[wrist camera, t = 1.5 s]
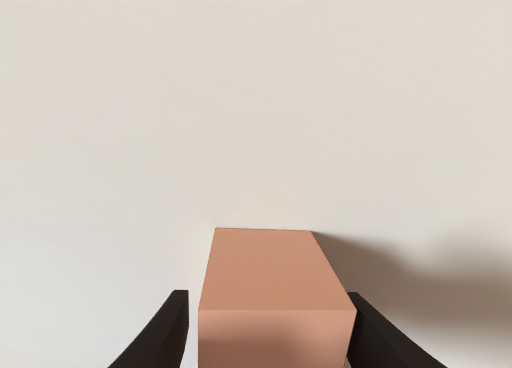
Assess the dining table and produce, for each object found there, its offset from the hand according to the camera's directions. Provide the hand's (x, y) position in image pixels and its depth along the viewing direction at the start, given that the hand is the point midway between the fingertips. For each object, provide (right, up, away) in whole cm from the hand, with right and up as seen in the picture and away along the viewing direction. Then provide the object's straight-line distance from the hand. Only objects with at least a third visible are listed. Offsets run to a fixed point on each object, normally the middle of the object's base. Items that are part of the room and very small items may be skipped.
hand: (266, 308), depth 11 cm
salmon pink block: (0, +1, +3) cm, 3 cm away
